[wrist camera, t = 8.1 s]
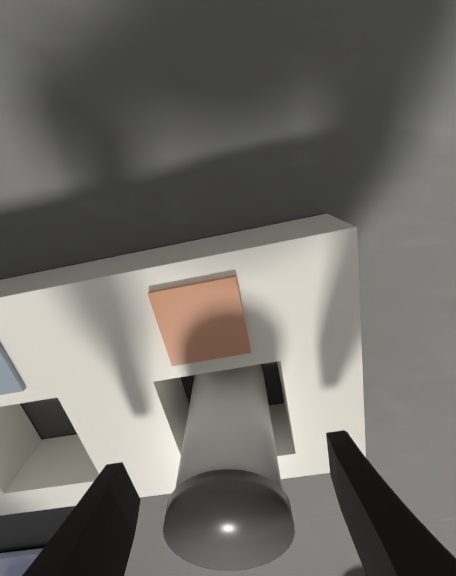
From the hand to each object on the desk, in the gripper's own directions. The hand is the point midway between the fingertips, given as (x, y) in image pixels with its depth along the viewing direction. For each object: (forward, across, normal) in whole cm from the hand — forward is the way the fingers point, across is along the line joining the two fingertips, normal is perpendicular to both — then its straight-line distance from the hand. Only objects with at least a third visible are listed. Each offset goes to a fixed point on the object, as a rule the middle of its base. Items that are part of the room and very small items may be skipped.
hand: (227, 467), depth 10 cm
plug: (+5, 0, 0) cm, 5 cm away
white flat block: (+5, +4, -2) cm, 7 cm away
